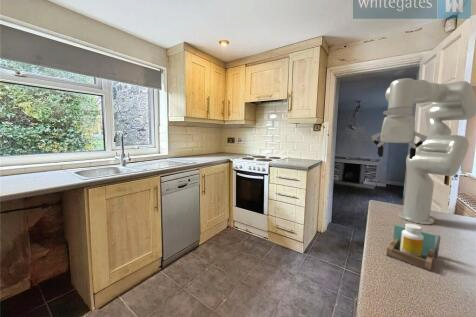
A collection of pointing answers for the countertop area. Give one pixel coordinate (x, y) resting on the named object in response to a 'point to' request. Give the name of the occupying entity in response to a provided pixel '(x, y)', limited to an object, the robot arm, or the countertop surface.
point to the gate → (428, 242)
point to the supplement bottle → (412, 240)
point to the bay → (410, 256)
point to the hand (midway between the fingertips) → (395, 157)
